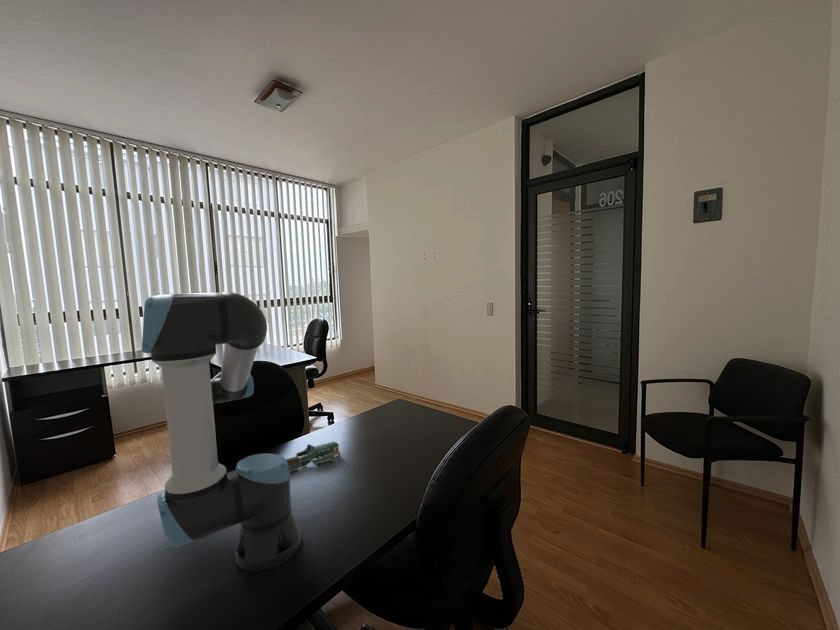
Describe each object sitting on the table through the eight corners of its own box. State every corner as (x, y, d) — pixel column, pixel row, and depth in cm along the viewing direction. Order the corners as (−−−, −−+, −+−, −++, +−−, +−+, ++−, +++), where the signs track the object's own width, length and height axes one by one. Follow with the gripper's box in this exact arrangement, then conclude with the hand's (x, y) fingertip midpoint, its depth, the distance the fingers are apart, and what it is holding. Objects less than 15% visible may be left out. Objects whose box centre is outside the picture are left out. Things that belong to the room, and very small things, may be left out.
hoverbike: (345, 461, 131) (343, 440, 130) (274, 485, 117) (272, 461, 116) (335, 451, 139) (334, 431, 138) (267, 473, 124) (266, 450, 124)
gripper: (185, 426, 105) (193, 501, 107) (205, 411, 117) (211, 478, 120) (158, 428, 104) (166, 504, 106) (181, 412, 116) (188, 480, 119)
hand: (190, 490), depth 113 cm, fingers closed
